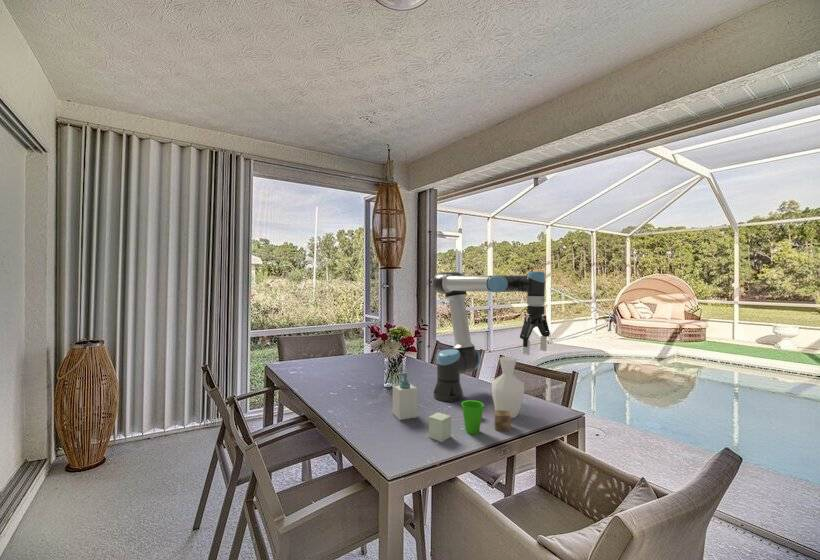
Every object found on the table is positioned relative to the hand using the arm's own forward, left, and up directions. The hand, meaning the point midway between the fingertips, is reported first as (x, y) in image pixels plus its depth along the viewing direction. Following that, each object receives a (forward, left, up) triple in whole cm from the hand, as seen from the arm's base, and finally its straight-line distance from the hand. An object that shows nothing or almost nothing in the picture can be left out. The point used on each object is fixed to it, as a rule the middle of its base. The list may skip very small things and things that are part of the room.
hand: (535, 352), depth 166 cm
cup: (-17, -35, -27) cm, 47 cm away
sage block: (-26, -46, -27) cm, 59 cm away
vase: (-10, -10, -27) cm, 31 cm away
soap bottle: (-49, -34, -27) cm, 65 cm away
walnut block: (-8, -25, -27) cm, 38 cm away
